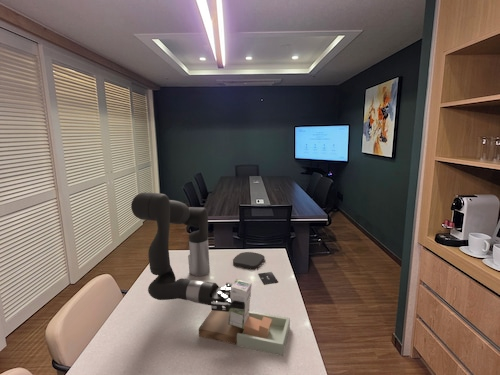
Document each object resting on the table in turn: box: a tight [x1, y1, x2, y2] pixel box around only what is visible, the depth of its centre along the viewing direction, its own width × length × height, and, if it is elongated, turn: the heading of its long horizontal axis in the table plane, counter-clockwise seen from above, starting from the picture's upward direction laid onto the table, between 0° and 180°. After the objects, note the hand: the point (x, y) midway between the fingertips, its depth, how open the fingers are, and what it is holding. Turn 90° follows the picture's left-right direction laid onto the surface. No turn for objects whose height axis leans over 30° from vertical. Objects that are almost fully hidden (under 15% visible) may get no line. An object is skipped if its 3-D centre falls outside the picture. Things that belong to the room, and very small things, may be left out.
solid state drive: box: [257, 271, 279, 286], centre depth 134 cm, size 7×10×1 cm
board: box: [198, 310, 244, 346], centre depth 99 cm, size 14×12×3 cm
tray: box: [236, 310, 291, 357], centre depth 95 cm, size 15×13×4 cm
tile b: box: [258, 317, 272, 339], centre depth 94 cm, size 5×5×3 cm
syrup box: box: [228, 278, 253, 329], centre depth 96 cm, size 6×6×14 cm
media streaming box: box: [232, 251, 266, 270], centre depth 150 cm, size 15×15×3 cm
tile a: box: [243, 316, 262, 337], centre depth 96 cm, size 5×5×3 cm
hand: (247, 300), depth 95 cm, fingers closed on syrup box, 6 cm apart
